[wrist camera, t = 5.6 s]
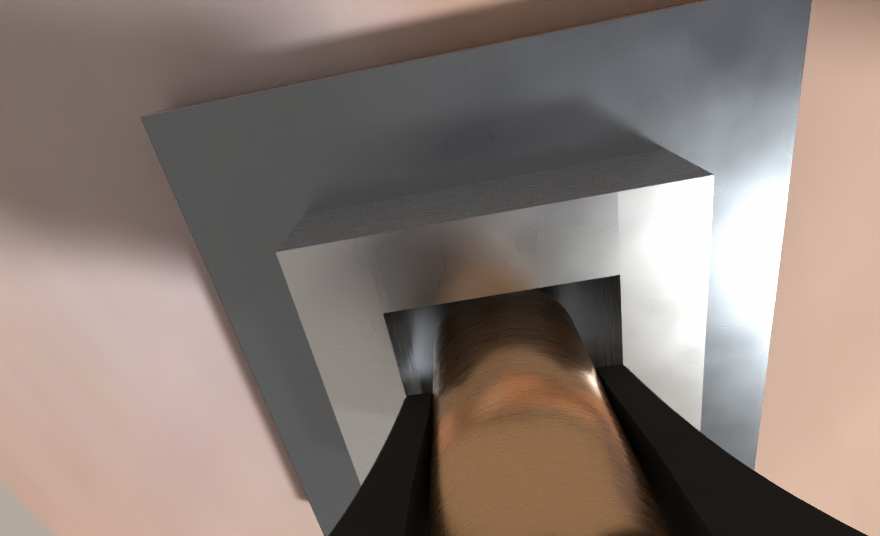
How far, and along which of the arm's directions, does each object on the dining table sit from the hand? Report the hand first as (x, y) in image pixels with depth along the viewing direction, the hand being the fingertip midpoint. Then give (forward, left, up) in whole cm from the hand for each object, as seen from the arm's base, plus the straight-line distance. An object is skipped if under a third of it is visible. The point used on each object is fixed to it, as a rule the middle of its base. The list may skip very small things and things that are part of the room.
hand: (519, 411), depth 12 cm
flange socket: (0, 0, -4) cm, 4 cm away
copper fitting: (0, 0, -2) cm, 2 cm away
